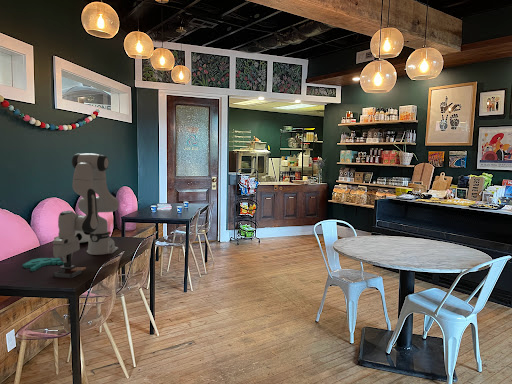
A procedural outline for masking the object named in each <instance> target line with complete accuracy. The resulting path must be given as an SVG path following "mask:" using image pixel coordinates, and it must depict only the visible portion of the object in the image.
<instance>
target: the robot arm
mask: <svg viewBox="0 0 512 384" xmlns="http://www.w3.org/2000/svg"><path fill="white" fill-rule="evenodd" d="M71 165H72V167H73V168H74V171H73V175H72V185H71V186H72V190H73V191H74V193H76V194H77V195H79V196H80V197H81V198H80V199H79V201H78V204H77V207H78V209H79V211H80V212H81V213H83V214H84V215H83V214H77V213H76V212H74V211H73V210H64V211H61V212H60V213H59V214H58V219H57V220H58V221H57V224H58V225H57V228H58V236H56V237H57V238H56V239H55V240H54V239H53V240H52V244H53V248H52V251H53V252H52V254H53V258H60V259H62V262H64V263H66V262H68V259H66V257H67V255H68V254H71V261H72V260H73V259H72V258H73V254H74V253H75V252H78V251H80V248H81V244H79V240H78V237H77V236H75V231H84V232H88V233H90V240H89V242H87V243H88V244H87V245H88V246H87V250H85V251H86V253H87V254H89V255H96V256H99V255H100V256H101V255H107V254H108V255H110V254H113V253H115V252H116V251H118V250H119V247H118V246H115V243H116V242H115V241H114V240H113V238H111V237H110V235H111V234H112V231H108V229H109V228H108V227H109V223H108V220H107V219H106V218H104V217H102V216H100V214H99V213H113V212H116V211H117V210H118V209H119V205H120V204H119V200H118V199H117V197H115V196H114V195H113V194H111V192H110V190H109V189H108V185H107V175H106V174H107V173H106V170H107V169H108V167H109V157H108V156H106V155H105V154H98V153H81V152H80V153H75V154H74V155H73V157H72V158H71Z"/></svg>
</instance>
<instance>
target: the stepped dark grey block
mask: <svg viewBox="0 0 512 384" xmlns="http://www.w3.org/2000/svg"><path fill="white" fill-rule="evenodd" d="M66 259H68V262H66V263H64V265H61V266H59V268H60V269H65V270H66V269H69V270H72V269H74V268H76V265H74V264H73V265H72V260H71V254H68V255H67V257H66Z"/></svg>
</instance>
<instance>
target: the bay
mask: <svg viewBox="0 0 512 384" xmlns="http://www.w3.org/2000/svg"><path fill="white" fill-rule="evenodd" d="M81 274H82V270H78V271H73V272H72V273H66V268H61V269H60V270H57V271H54V272H53V273H52V277H53V278H67V279H73V278H74V277H77V276H79V275H81Z"/></svg>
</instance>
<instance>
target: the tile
mask: <svg viewBox="0 0 512 384" xmlns="http://www.w3.org/2000/svg"><path fill="white" fill-rule="evenodd" d="M78 270H82V271H85V270H87V267H86V266H84V267H83V266H82V267H81V266H75V267H74V268H72V269H70V272H76V271H78Z"/></svg>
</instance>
